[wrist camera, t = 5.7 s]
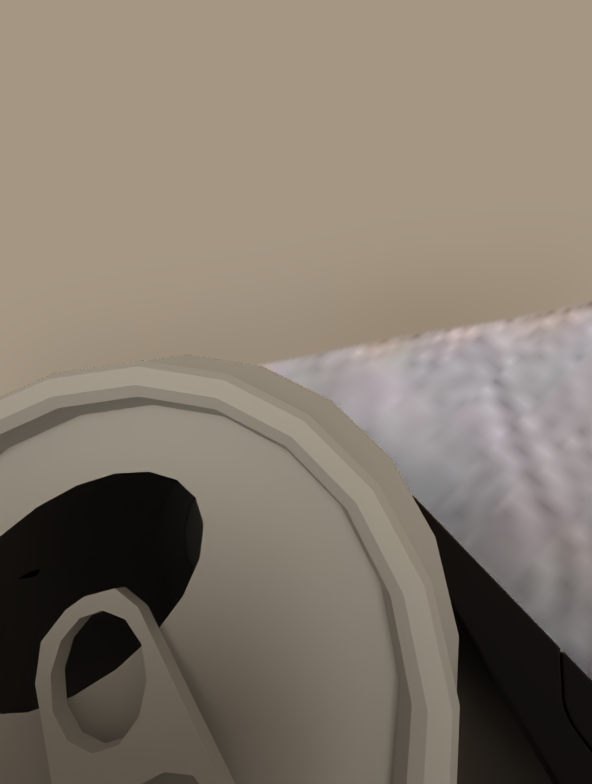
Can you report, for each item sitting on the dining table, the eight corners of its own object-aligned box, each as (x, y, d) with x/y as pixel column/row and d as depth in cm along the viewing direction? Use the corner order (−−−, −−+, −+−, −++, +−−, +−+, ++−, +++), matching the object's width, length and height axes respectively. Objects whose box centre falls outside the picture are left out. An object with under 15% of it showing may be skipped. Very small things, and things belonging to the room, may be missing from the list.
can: (280, 407, 16) (224, 183, 4) (385, 554, 14) (789, 874, 2) (133, 508, 15) (-503, 594, 3) (229, 680, 13) (-354, 2299, 1)
